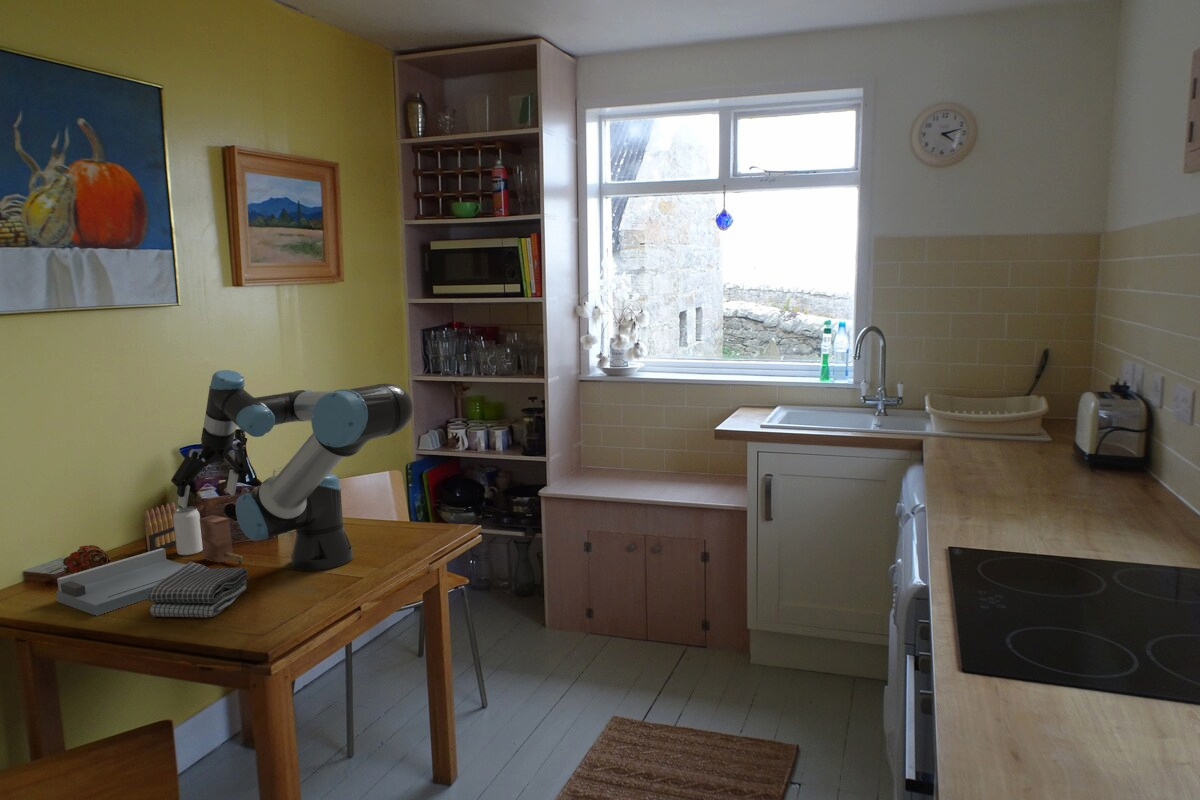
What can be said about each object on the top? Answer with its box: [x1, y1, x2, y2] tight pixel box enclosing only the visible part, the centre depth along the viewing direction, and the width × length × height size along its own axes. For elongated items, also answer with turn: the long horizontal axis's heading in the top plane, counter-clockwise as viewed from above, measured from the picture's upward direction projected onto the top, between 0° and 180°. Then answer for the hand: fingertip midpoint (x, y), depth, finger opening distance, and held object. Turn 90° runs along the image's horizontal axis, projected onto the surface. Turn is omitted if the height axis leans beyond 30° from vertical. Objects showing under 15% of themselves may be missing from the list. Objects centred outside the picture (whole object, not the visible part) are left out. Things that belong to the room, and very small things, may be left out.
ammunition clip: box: [144, 501, 177, 553], centre depth 240 cm, size 11×2×12 cm, turn 160°
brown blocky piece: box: [200, 515, 244, 565], centre depth 226 cm, size 14×4×11 cm, turn 56°
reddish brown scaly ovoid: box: [60, 544, 112, 574], centre depth 219 cm, size 8×8×12 cm
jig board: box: [55, 548, 187, 617], centre depth 207 cm, size 18×26×6 cm
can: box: [173, 506, 203, 557], centre depth 235 cm, size 6×6×12 cm
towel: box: [147, 561, 250, 618], centre depth 196 cm, size 15×18×8 cm
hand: (206, 499), depth 226 cm, fingers open, 13 cm apart
